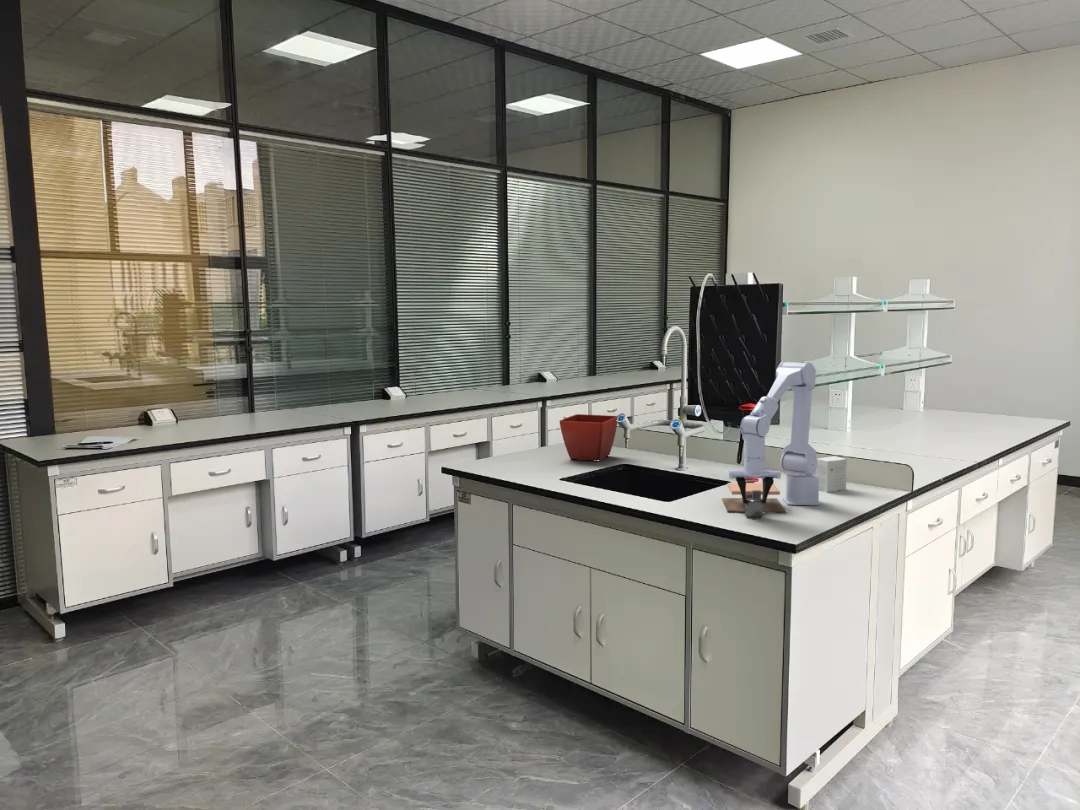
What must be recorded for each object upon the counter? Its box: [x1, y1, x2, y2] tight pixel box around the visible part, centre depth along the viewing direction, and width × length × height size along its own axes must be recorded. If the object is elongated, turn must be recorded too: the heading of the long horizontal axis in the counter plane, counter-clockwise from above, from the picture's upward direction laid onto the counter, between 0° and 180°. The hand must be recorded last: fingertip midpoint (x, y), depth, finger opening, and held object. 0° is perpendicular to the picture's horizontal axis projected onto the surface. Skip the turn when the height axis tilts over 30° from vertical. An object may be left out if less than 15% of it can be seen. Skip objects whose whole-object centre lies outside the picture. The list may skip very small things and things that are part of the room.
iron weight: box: [744, 498, 764, 520], centre depth 224 cm, size 5×5×5 cm
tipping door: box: [727, 482, 781, 496], centre depth 236 cm, size 14×12×1 cm
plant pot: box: [559, 413, 619, 461], centre depth 317 cm, size 19×19×17 cm
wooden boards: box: [721, 479, 787, 513], centre depth 236 cm, size 17×15×6 cm
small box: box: [815, 455, 848, 493], centre depth 254 cm, size 8×6×10 cm
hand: (754, 502), depth 224 cm, fingers closed on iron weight, 5 cm apart
